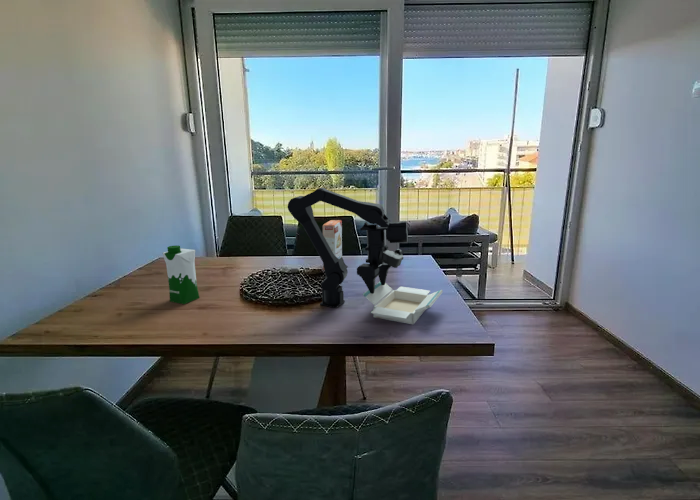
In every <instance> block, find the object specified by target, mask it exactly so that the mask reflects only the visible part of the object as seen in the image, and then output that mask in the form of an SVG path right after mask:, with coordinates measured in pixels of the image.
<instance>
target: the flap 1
mask: <svg viewBox="0 0 700 500" xmlns="http://www.w3.org/2000/svg"><path fill="white" fill-rule="evenodd" d="M393 290H394V289H393V288H392V287H390V286H389V285H388V283H386V282H385V285H381V282H380V281H379V282H377V283H375V290H374V294H372V293H370V291H369V289H367V290H366V291H364V293H363V294H362V296H363V297H364V298H366V299H367V300H368V301H369V302H370V303H371V304H372V305H373V306H375V305H376V304H377V303H379V302H380V301H381V300H382V299H383V298H385V297H386V296H387V295H388V294H389V293H390V292H392V291H393Z"/></svg>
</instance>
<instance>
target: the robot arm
mask: <svg viewBox="0 0 700 500" xmlns="http://www.w3.org/2000/svg"><path fill="white" fill-rule="evenodd" d="M319 202H323V203H325V204H328V205H331V206H334V207H336V208H339V209H342V210H344V211H347V212H350V213H353V214H355V215H357V216H358V217H359V218H360V219H362V220H364V221H365V222H364V224H363V225H362V227H360V228H359V229H360V231H366V245H367V246H365V247H364V251H366V252H367V258H366V259H365V263H364V262H363V263H362V264H360V265H359V266H358V267H357V268H356V275H357V276H359V277H360V278H361V279H362V280H363V283H364V284H365V286H366V287H367V290H369V291H370V293H372V294H374V290H375V285H376V278H377V277H378V279H379V282H381V285H385V283H386V281H387V277H388V273H389V270H390V269H391V268H393V269H397V268H398V267H399V266H401V264H402V262H403V260H404V255H403V250H402V249H400V248H397V249H396V250H395V251H394V250H389V246H388V245H387V244H385V243H386V242H385V240H386V241H388V242H389V243H390V244H407V243H408V242H409V236H408V235H409V231H408V225H407V221H406V220H405V221H404V220H403V221H398V222H397V221H391V220H390V219H389V218H388V216H387V215H386V214H385V208H384V207H383V206H382V205H381V204H379V203H374V202H369V201H361V200H356V199H354V198H351V197H348V196H345V195H343V194H340V193H337V192H335V191H332V190H328V189H327V188H325V187H319V188H316V189H315V190H314V191H312V192H310V193H308V194H306V195H304V196H303V195H298V196H295V197H294V198H291V199H290V200H289V201H288V202H287V210H288V212H289V213H290V214H291V216H292V217H293V218H294V219H295V220H296V221H297V222H298V223H299V224H300V225H302V228H303V229H304V231H305V232H306V234H307V236H308V238H309V240H310V242H311V243H312V245H313V247H314V249H315V250H316V252H317V254H318V256H319V258H320V259H321V261H322V263H323V264H322V266H323V265H324V271H323V272H324V274H325V278H324V280H322V282H321V283H320V287H321V297H322V301H321V302H320V303H319V305H320V306H324V307H330V308H338V307H339V306H341V305H342V304H344V303H345V302H346V301H345V300H344V290H343V286H342V285H341V284H342V283H343V282H344V281H345V279H346V278H347V276H348V265H347V264H346V262H345V260H344V259H343V256H342V257H341V258H340V259H338V258H337V257H336V256H335V255H334V254H333V252H332V250H331V248H330V247H329V245H328V243H327V241H326V239H325V238H324V236H323V231H322V230H321V229H320V226H319V225H318V223H317V221H316V219H315V215H314V210H313V207H312V206H313V205H315V204H318V203H319Z"/></svg>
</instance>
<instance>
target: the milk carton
mask: <svg viewBox="0 0 700 500" xmlns="http://www.w3.org/2000/svg"><path fill="white" fill-rule="evenodd" d="M166 247H167V248H166V249H167V251H164V252H162V257H163V260H164V262H165V265H166V272H167V273H166V274H167V282H168V288H169V289H168V291H169V302H170V303H174V304H180V305H186V304H188V303H190V302H193V301H196V300H197V299H200V294H199V289H198V284H197V283H198V282H197V274H196V272H197V271H196V264H195V263H196V262H195V260H196V259H195V257H196V249H190V248H189V249H188V248H181V245H170V246H166Z"/></svg>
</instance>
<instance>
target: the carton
mask: <svg viewBox="0 0 700 500" xmlns="http://www.w3.org/2000/svg"><path fill="white" fill-rule="evenodd" d="M429 294H431V290H428V289H421V288H414V287H408V286H399V287H398V288H397V289H393V290H392V291H391V292H390V293H388V294H387V295H386V296H385V297H384V298H382V299H381V300H380V301H379V302H378V303H377V304H375V305H373V310H372V311H371V312H370V314H372V315H373V318H375V319H382V320H386V321H392V322H398V323H402V324H403V323H404V324H408V325H415V323H417V321H418V320H419V319H420V317H421V316H422V315H423V313H424V312H425V311H426V310H427V309H424V310H422V311H419V312H415V309H416V308H417V307H418V306H419V305H420V304H421V303H422V301H423V300H424V299H425V298H426V297H427V296H428V295H429Z"/></svg>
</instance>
